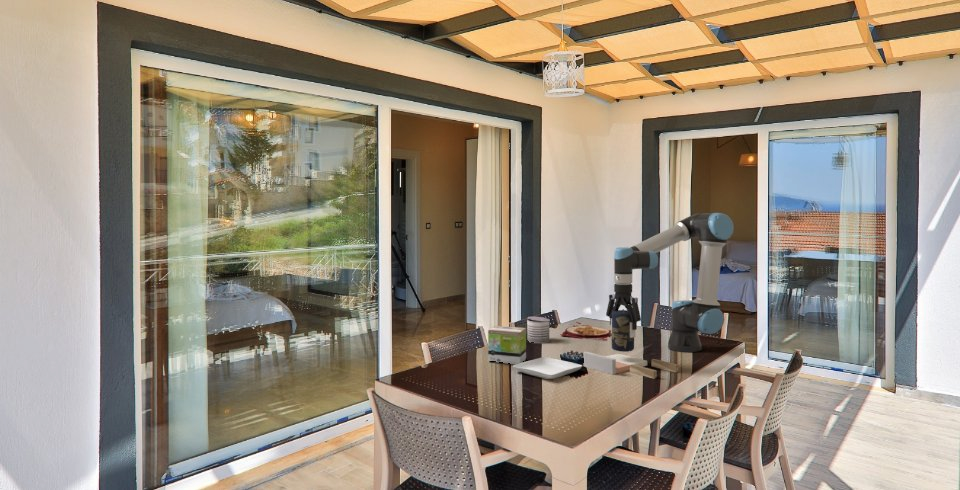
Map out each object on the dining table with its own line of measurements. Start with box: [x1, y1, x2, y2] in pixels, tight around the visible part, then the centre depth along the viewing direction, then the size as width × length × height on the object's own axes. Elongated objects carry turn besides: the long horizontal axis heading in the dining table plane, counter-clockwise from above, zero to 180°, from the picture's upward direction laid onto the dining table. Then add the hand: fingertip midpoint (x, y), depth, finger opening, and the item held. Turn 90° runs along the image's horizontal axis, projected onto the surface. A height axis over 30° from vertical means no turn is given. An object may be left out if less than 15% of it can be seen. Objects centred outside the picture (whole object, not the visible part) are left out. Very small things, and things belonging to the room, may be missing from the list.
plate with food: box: [559, 321, 612, 341], centre depth 309 cm, size 25×26×4 cm
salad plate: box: [512, 356, 583, 380], centre depth 236 cm, size 21×21×3 cm
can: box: [526, 316, 550, 344], centre depth 293 cm, size 11×11×12 cm
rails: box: [629, 358, 679, 380], centre depth 234 cm, size 16×12×3 cm
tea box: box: [487, 325, 527, 365], centre depth 254 cm, size 15×10×15 cm, turn 70°
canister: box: [611, 308, 635, 353], centre depth 246 cm, size 10×10×18 cm
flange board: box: [582, 351, 648, 375], centre depth 244 cm, size 22×16×6 cm
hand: (622, 335), depth 246 cm, fingers closed on canister, 10 cm apart
